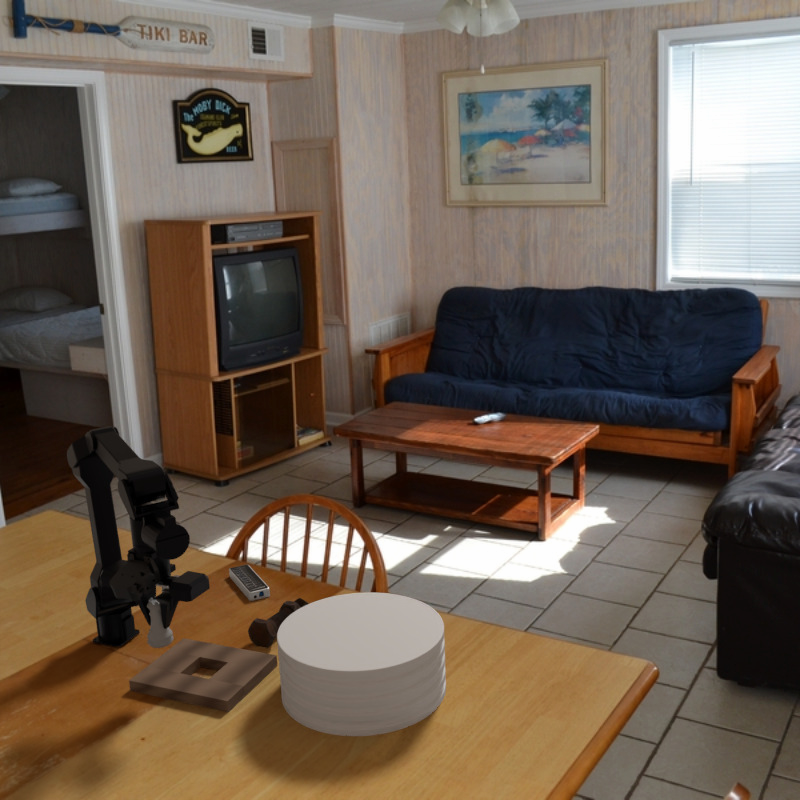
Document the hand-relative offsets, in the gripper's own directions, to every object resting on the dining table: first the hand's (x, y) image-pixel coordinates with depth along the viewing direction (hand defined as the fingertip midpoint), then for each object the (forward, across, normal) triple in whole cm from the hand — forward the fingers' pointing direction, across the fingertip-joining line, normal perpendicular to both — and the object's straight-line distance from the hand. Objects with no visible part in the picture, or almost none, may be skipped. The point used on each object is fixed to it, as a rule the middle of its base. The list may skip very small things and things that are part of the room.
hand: (159, 626), depth 167 cm
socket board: (+12, +4, +6) cm, 14 cm away
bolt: (+12, +8, +26) cm, 30 cm away
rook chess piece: (+3, 0, 0) cm, 3 cm away
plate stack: (+12, +32, +12) cm, 37 cm away
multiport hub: (+13, -10, +41) cm, 44 cm away
